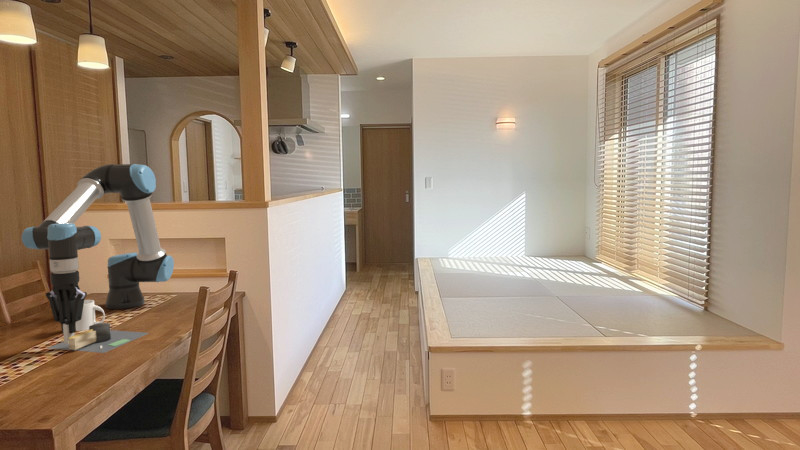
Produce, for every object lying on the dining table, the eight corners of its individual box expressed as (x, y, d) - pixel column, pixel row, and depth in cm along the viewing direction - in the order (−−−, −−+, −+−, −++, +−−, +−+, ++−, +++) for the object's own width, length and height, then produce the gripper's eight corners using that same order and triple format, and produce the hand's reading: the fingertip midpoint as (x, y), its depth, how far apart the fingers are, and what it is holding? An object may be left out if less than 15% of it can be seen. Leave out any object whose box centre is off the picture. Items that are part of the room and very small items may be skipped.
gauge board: (97, 332, 173) (97, 328, 173) (149, 336, 169) (149, 332, 169) (46, 351, 154) (46, 347, 154) (104, 356, 150) (104, 352, 149)
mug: (101, 332, 173) (99, 304, 172) (64, 335, 170) (62, 306, 169) (109, 325, 182) (107, 298, 180) (73, 328, 178) (71, 300, 177)
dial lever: (100, 336, 165) (99, 322, 164) (114, 337, 164) (114, 323, 163) (61, 351, 150) (60, 336, 150) (77, 352, 149) (76, 337, 149)
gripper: (36, 273, 149) (41, 345, 151) (73, 274, 147) (78, 347, 149) (56, 268, 156) (61, 337, 158) (92, 269, 155) (96, 339, 157)
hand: (69, 342), depth 154 cm, fingers closed
